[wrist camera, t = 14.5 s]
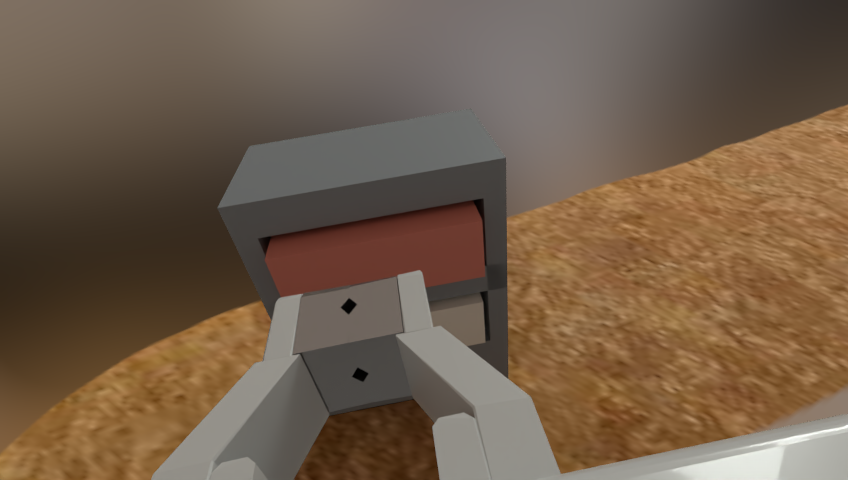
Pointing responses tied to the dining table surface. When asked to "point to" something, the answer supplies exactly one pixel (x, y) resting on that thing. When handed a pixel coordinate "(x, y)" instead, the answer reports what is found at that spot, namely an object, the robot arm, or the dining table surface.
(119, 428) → the dining table surface
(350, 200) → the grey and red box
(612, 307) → the dining table surface
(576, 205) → the dining table surface
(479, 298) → the pale button
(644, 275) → the dining table surface
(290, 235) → the red button
